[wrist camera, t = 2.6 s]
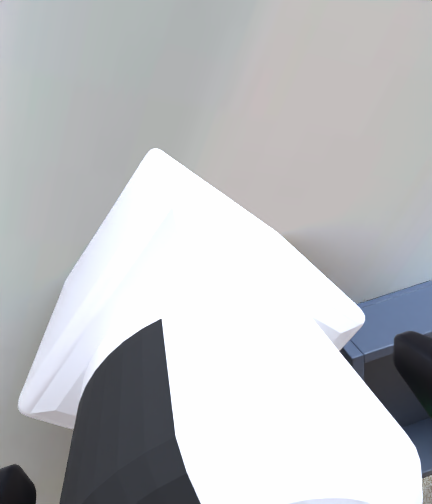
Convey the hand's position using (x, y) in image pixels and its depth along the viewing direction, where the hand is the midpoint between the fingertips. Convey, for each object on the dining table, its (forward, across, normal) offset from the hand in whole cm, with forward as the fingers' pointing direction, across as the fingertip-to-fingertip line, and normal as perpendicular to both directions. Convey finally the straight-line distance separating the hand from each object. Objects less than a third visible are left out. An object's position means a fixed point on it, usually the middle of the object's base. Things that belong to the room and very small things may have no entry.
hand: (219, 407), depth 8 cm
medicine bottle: (+9, 0, 0) cm, 9 cm away
